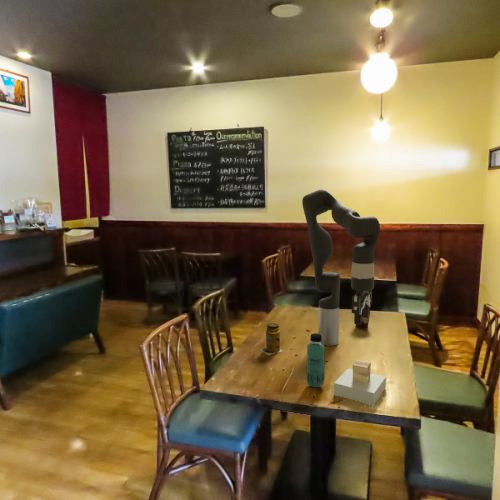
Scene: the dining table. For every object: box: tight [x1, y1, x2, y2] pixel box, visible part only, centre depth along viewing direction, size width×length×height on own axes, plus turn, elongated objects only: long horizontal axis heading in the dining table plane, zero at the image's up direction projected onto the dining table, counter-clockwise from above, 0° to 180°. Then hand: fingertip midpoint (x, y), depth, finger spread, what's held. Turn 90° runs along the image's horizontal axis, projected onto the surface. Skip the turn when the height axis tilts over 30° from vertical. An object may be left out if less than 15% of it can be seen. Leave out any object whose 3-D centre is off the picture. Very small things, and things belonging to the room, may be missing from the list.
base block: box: [333, 367, 387, 406], centre depth 149 cm, size 14×14×5 cm
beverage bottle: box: [306, 332, 326, 388], centre depth 152 cm, size 6×7×20 cm
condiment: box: [259, 322, 284, 356], centre depth 187 cm, size 7×8×12 cm
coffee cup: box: [354, 305, 372, 331], centre depth 214 cm, size 9×8×13 cm
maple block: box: [352, 359, 372, 384], centre depth 149 cm, size 5×5×6 cm
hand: (361, 320), depth 146 cm, fingers open, 8 cm apart
